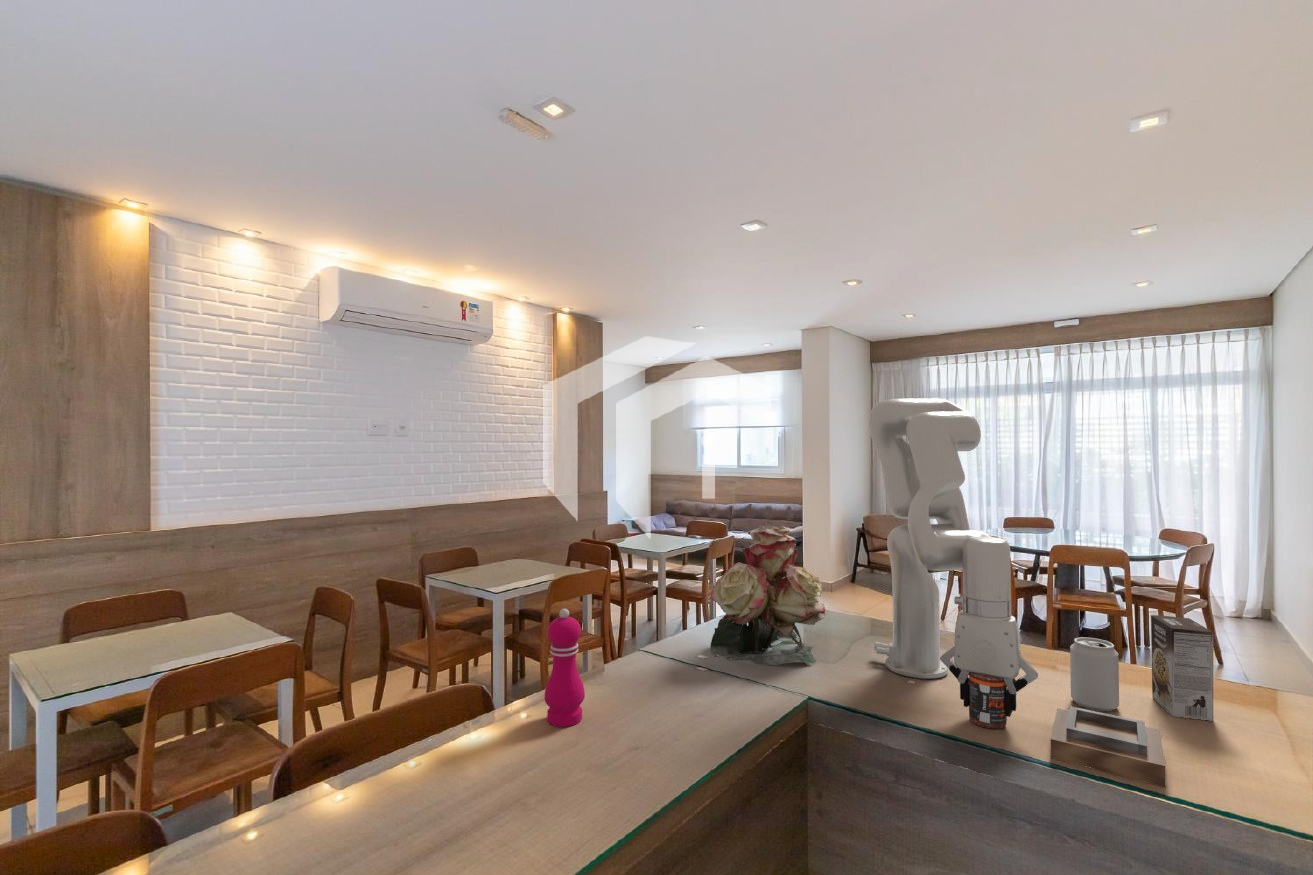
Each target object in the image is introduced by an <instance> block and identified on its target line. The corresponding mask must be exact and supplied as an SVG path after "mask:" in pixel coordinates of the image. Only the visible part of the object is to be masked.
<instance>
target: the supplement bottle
mask: <svg viewBox="0 0 1313 875" xmlns="http://www.w3.org/2000/svg"><path fill="white" fill-rule="evenodd" d="M968 678H969V706H968V717H969V719H970V721H971V722H973V724H975V725H977V726H979V727H982V728H985V727H986V729H990V730H999V729H1002V728H1005V727H1006V726H1007V722H1008V721H1007V720H1008V718H1007V717H1008V716H1007V715H1005V693H1006V691H1007V686H1006V684H1005V681H1004V679H1003V678H1000V677H994V676H989V675H984V674H979V673H974V672H969V676H968Z"/></svg>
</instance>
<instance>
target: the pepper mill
mask: <svg viewBox="0 0 1313 875" xmlns="http://www.w3.org/2000/svg"><path fill="white" fill-rule="evenodd" d="M558 615H559V617H557V618H554V619H553V620H552V621H551V622H550V623H549V625H548V627H547V638H548V640H549V641H550V643H551V645H550V652H549V653H550V654H551V655H552V660H553V661H552V670H551V673H550V676H549V678H548V681H547V684H546V686H545V690H544V702H545V704H546V705H547V706H548V709H547V714H546V716H547V718H546V720H547V722H548V724H549V725H552V726H553V727H558V728H559V727H560V728H565V727H572V726H575V725H577V724H578V723H580V722H581V721H582V720H583V708H582V706H581V704H582V703H583V702H584V700H585V697H586V696H585V693H586V692H585V687H584V683H583V680H582V678H581V676H580V674H579V671H578V667H577V653H578V652H579V643H578V641H579V639H580V638H581V635H582V628H581V625H580V623H579V621H578V620H577V619H576V618H574V617H571V616H570V611H569V610H568V609H567V608H562V609H561V610H559V614H558Z"/></svg>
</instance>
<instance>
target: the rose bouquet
mask: <svg viewBox="0 0 1313 875" xmlns="http://www.w3.org/2000/svg"><path fill="white" fill-rule="evenodd" d="M790 532H791V528H790V527H786V526H784V525H780V527H778V526H775V525H769V524H768V525H759V527H756V528H755V529H751V530H749V531H747V534H748V535H749V536H750V537H751V539H752V541H753V544H751V545H750V546H749V547H745V548H742V549H741V551H742V552H743V553H744V556H745V559H746V563H747V564H746V563H742V562H737V563H734V564H732V565H731V566H730V567H728V569H727V570H726V571H725V572H724V573H723V575H721V576H720V577H719V578H718V579H717V580H716V582H715V585H712V589H711V592H710V595H709V596H710V599H711V600H712V601H714V602H715V603H717V605H718V606H719V607H720V609H721V610H722V611H723V613H725V615H723V616H721V619H720V620H719V621H718V623H717V627H714V633H713V634H712V636H711V642H710V653H711V654H712V656H713V657H717V658H724V659H725V658H729V657H730V659H729V661H734V660H749V661H751V662H752V663H754V664H756V665H760V666H761V665H764V666H779V665H783V664H791V663H804V664H805V665H806V666H809V667H811V666H813V665H814V664H815V663H816V662H817V659H816V658H815V657H814V655H813V654H812V652H811V651H812V649H813V648H814V646H805V644H804V643H803V642H802V640H803V638H802V637H801V635H800V632H799V630H798V628H797V626H796V623H797V624H803V625H808V626H815V624H816V623H818V622H819V621H821V620H822V619H823V620H824V619H825V616H826V608H825V603H824V602H820V597H821V596H822V594H821V593H820V592H821V591H822V590H823V589H822V581H821V580H820V577H818V576H816V575H813V573H811V571H810V570H808V569H806V568H805V567H801V566H795V562H796V560H797V558H798V555H799V549H796V546H797V544H796V542H797V539H796V538H795V537H793V536H790V535H788V533H790ZM776 641H780V642H779V643H778V644H774V643H775V642H776ZM769 648H771V650H769V651H766V652H762V651H763V650H764V649H766V650H767V649H769ZM748 652H749V653H748ZM751 652H752V653H751ZM753 652H754V653H753ZM759 652H761V653H759ZM744 653H745V654H744ZM740 654H743V655H740Z"/></svg>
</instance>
